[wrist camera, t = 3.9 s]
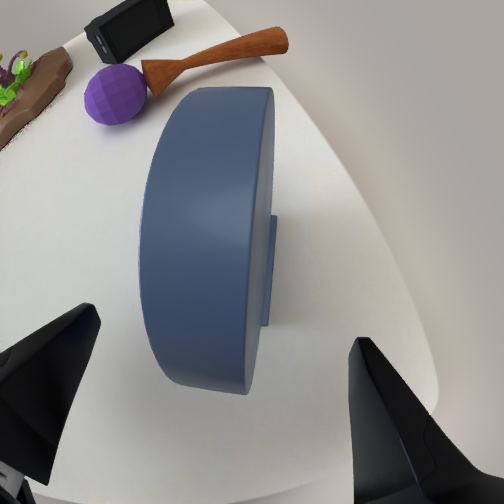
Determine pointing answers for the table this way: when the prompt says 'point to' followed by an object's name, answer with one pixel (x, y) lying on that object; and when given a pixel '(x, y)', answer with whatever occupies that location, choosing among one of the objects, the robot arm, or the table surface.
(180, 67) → the kendama
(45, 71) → the plant
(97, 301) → the table surface
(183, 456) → the table surface
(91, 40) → the digital camera
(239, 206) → the disc
